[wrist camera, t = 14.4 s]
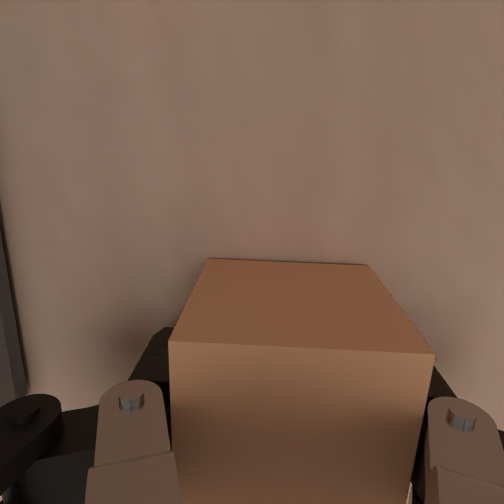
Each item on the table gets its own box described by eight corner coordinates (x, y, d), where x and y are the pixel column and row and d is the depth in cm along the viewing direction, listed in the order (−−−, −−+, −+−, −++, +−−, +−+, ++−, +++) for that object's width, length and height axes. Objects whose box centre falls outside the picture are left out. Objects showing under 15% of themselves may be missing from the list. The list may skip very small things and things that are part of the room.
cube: (208, 258, 12) (168, 340, 7) (368, 265, 12) (435, 354, 7) (208, 393, 13) (175, 534, 9) (350, 400, 13) (396, 549, 9)
